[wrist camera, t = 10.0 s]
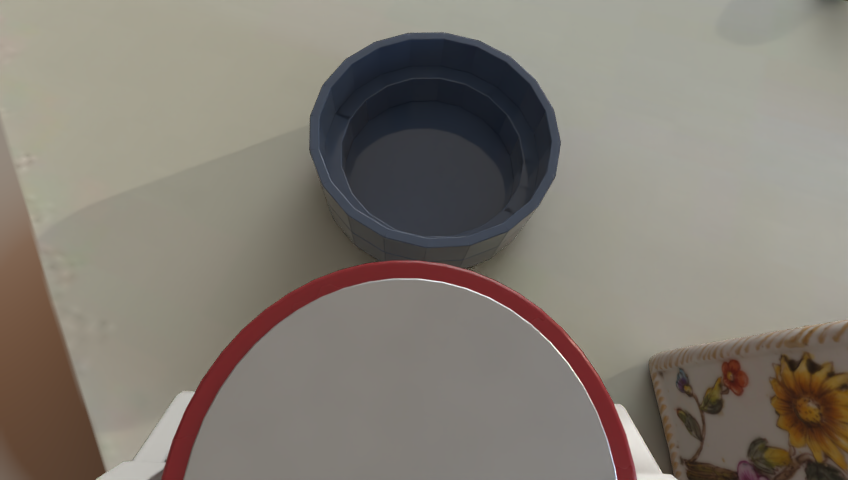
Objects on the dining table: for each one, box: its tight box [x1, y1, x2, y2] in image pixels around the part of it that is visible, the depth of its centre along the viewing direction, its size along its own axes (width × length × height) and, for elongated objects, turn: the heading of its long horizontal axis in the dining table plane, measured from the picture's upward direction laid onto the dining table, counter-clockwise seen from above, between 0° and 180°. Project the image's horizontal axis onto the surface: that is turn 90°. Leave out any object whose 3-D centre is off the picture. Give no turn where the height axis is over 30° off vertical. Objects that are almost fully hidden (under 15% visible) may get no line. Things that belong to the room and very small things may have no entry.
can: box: [161, 260, 637, 480], centre depth 10 cm, size 6×6×10 cm
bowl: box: [309, 32, 561, 269], centre depth 25 cm, size 13×13×5 cm
